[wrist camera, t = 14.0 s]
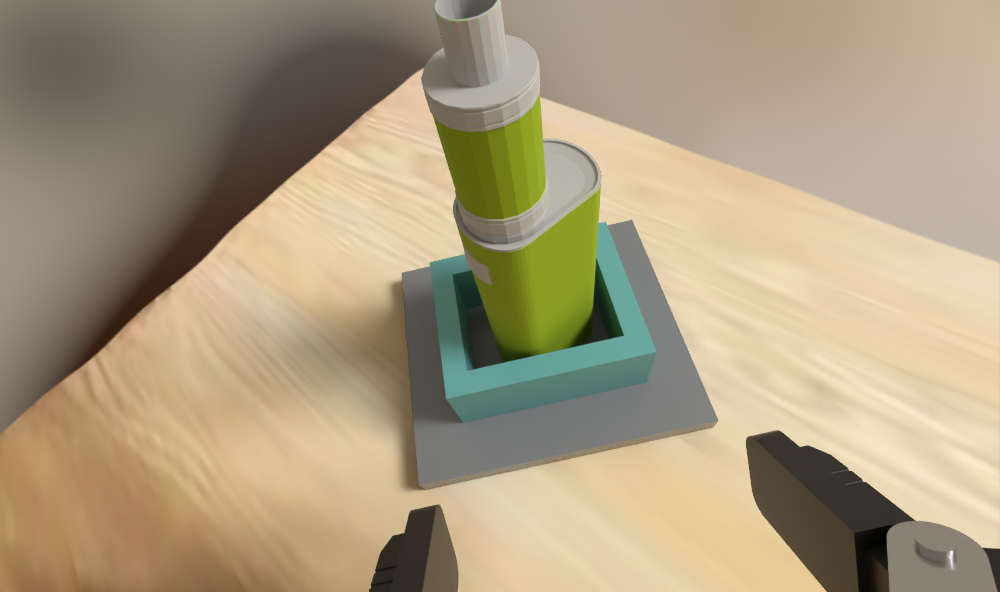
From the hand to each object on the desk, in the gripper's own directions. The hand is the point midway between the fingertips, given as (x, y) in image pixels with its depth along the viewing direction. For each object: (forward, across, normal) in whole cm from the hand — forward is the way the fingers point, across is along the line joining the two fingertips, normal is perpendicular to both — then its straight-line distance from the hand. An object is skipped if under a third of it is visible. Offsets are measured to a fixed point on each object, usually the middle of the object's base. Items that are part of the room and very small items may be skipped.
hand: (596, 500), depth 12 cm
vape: (+17, 0, +1) cm, 17 cm away
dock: (+18, 0, +2) cm, 18 cm away
